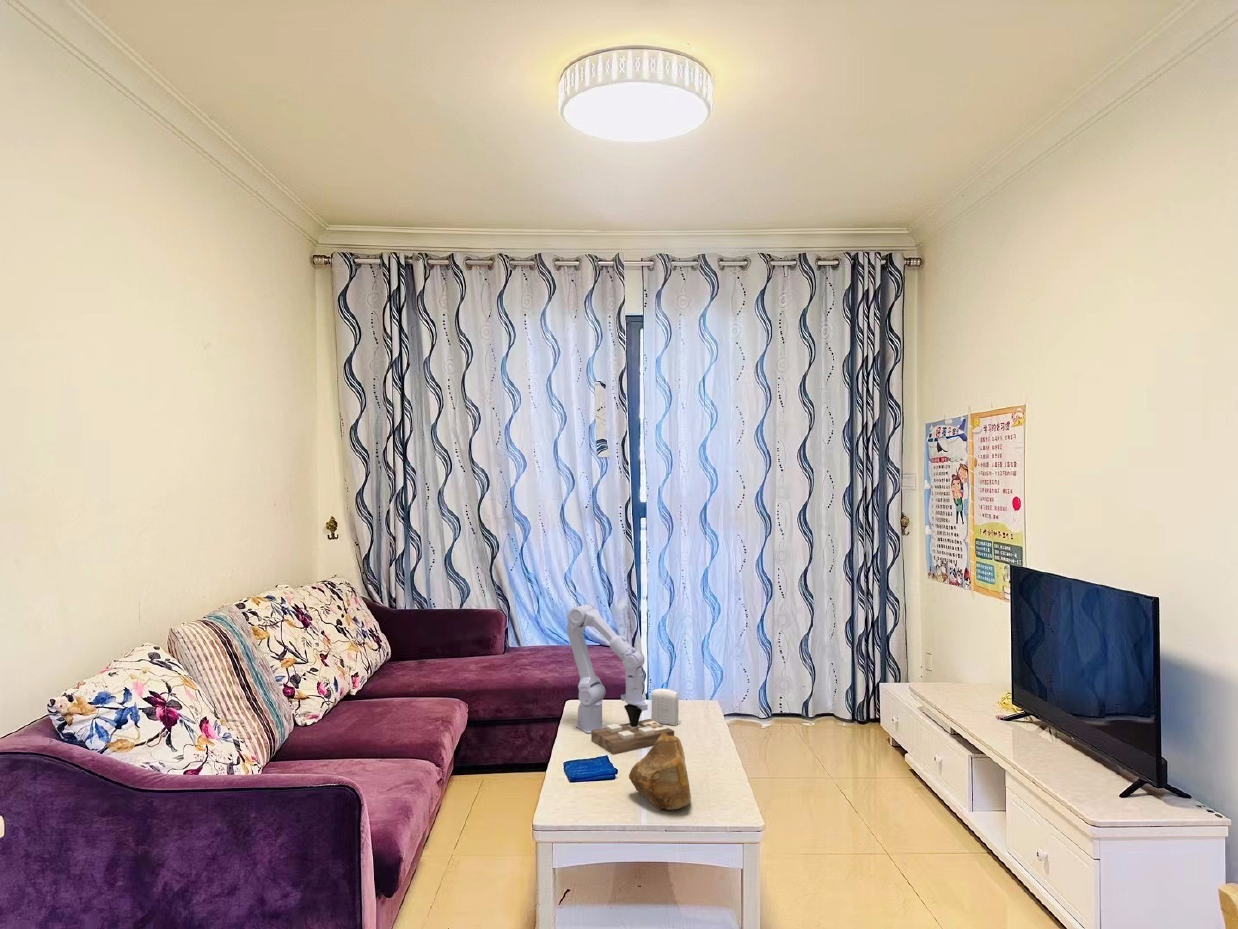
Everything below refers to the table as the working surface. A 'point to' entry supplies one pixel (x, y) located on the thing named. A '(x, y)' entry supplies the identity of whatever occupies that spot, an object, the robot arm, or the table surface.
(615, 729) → the button
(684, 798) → the rough brown rock
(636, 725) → the robot arm
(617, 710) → the table surface
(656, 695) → the photo printer
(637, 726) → the button
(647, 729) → the button
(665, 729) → the button board
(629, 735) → the button
